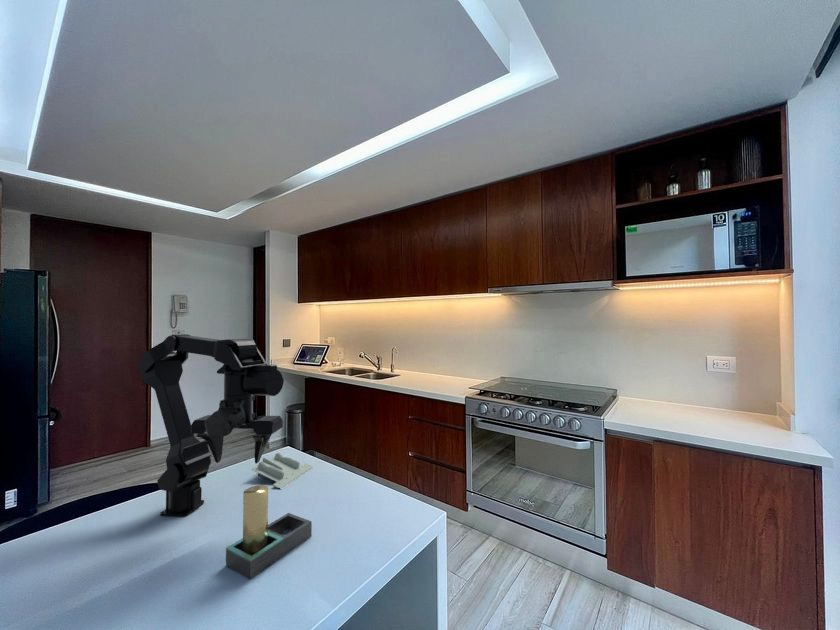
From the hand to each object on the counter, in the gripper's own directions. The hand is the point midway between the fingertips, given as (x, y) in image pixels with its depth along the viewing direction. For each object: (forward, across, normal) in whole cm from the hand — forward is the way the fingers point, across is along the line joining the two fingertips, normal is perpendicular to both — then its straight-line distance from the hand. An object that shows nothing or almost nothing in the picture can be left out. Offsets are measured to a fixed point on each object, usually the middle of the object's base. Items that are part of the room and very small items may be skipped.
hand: (237, 462), depth 78 cm
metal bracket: (+14, -1, +24) cm, 27 cm away
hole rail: (+13, +13, -10) cm, 21 cm away
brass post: (+13, +11, -13) cm, 21 cm away
